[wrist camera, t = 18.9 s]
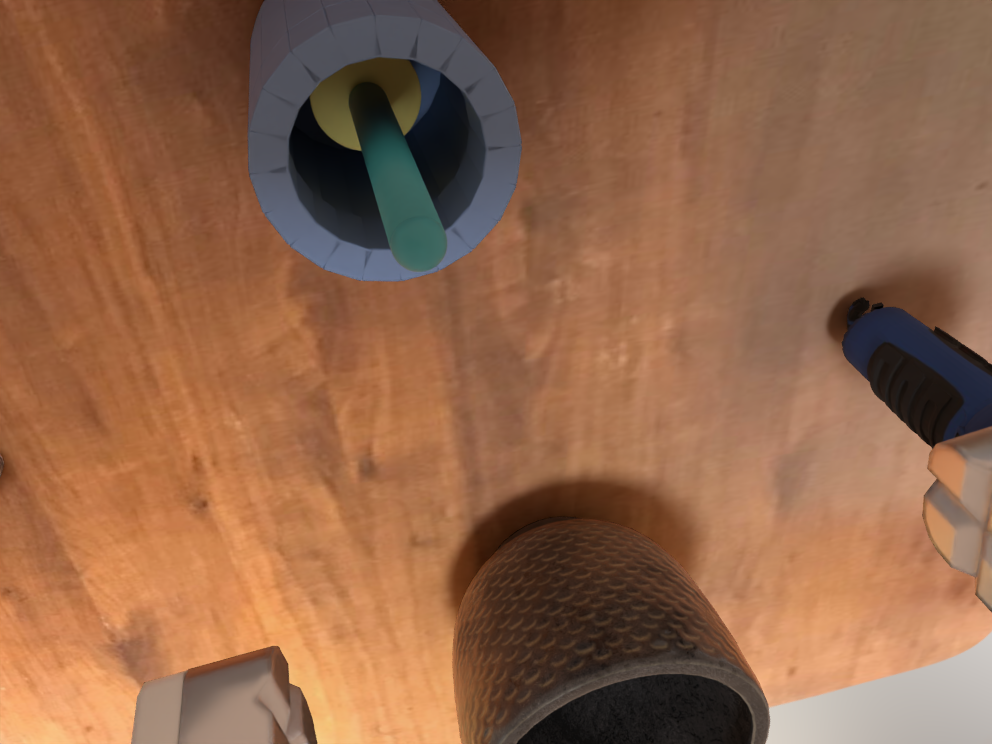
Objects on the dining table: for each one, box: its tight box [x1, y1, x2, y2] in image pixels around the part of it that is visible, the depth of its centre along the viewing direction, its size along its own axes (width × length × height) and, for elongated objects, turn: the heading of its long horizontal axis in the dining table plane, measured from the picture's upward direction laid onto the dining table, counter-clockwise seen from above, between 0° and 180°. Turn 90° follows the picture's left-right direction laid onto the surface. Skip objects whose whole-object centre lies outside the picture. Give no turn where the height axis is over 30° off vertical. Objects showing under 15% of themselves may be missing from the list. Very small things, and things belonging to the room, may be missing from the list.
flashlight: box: [842, 298, 992, 449], centre depth 48 cm, size 8×8×20 cm
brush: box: [309, 57, 447, 272], centre depth 33 cm, size 5×5×21 cm
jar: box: [248, 0, 522, 281], centre depth 36 cm, size 9×9×14 cm
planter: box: [453, 517, 770, 744], centre depth 56 cm, size 17×17×16 cm
